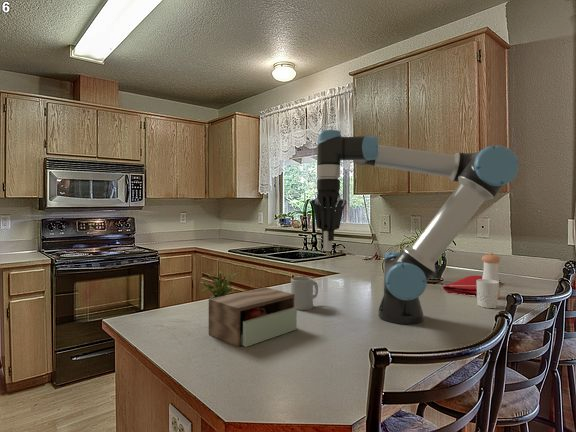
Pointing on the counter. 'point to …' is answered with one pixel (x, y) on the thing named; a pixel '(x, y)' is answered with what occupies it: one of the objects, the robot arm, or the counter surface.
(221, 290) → the house plant
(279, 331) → the drawer
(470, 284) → the dish drying mat
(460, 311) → the counter surface
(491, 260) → the pepper shaker
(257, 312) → the pomegranate
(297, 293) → the mug
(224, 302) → the cabinet box
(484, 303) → the white cup
